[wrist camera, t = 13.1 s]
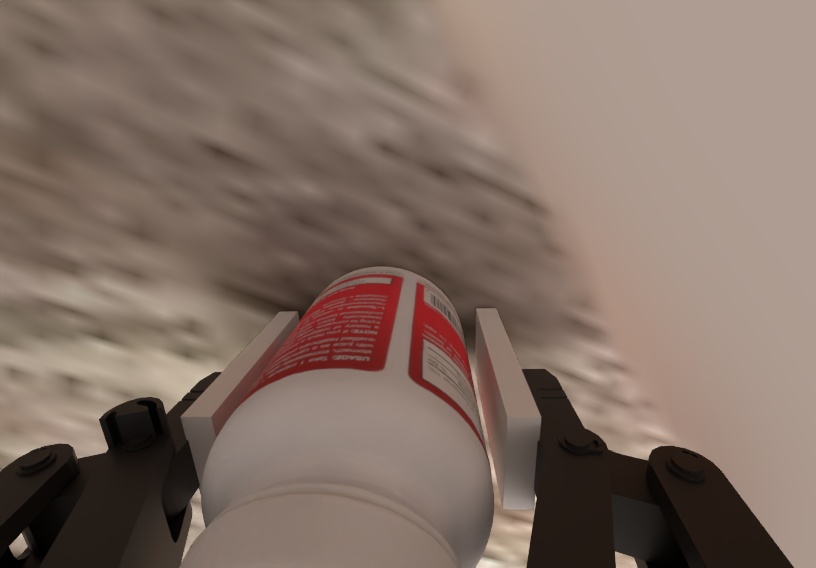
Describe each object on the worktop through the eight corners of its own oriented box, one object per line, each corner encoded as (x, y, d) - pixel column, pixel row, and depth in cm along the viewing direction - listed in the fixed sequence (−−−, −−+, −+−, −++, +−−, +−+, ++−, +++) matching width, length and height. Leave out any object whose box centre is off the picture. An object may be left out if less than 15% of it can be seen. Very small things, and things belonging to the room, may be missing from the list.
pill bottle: (291, 369, 17) (57, 743, 6) (337, 237, 15) (112, 453, 4) (427, 420, 17) (424, 848, 7) (489, 298, 15) (623, 630, 5)
